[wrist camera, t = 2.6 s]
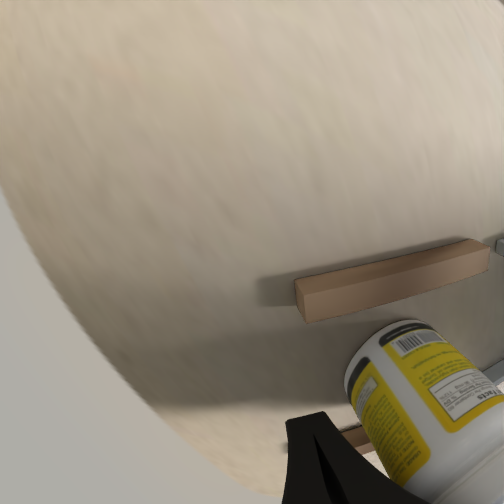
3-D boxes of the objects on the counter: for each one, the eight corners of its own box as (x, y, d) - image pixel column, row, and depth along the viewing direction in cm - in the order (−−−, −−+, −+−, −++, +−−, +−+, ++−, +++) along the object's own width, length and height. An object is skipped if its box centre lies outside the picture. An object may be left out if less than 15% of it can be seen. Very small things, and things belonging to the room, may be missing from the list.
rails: (471, 238, 10) (490, 247, 9) (438, 404, 14) (448, 417, 12) (294, 279, 10) (303, 295, 9) (308, 451, 13) (314, 468, 12)
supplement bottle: (373, 414, 13) (444, 545, 5) (319, 375, 11) (402, 560, 3) (445, 349, 12) (549, 460, 4) (409, 294, 11) (561, 434, 3)
